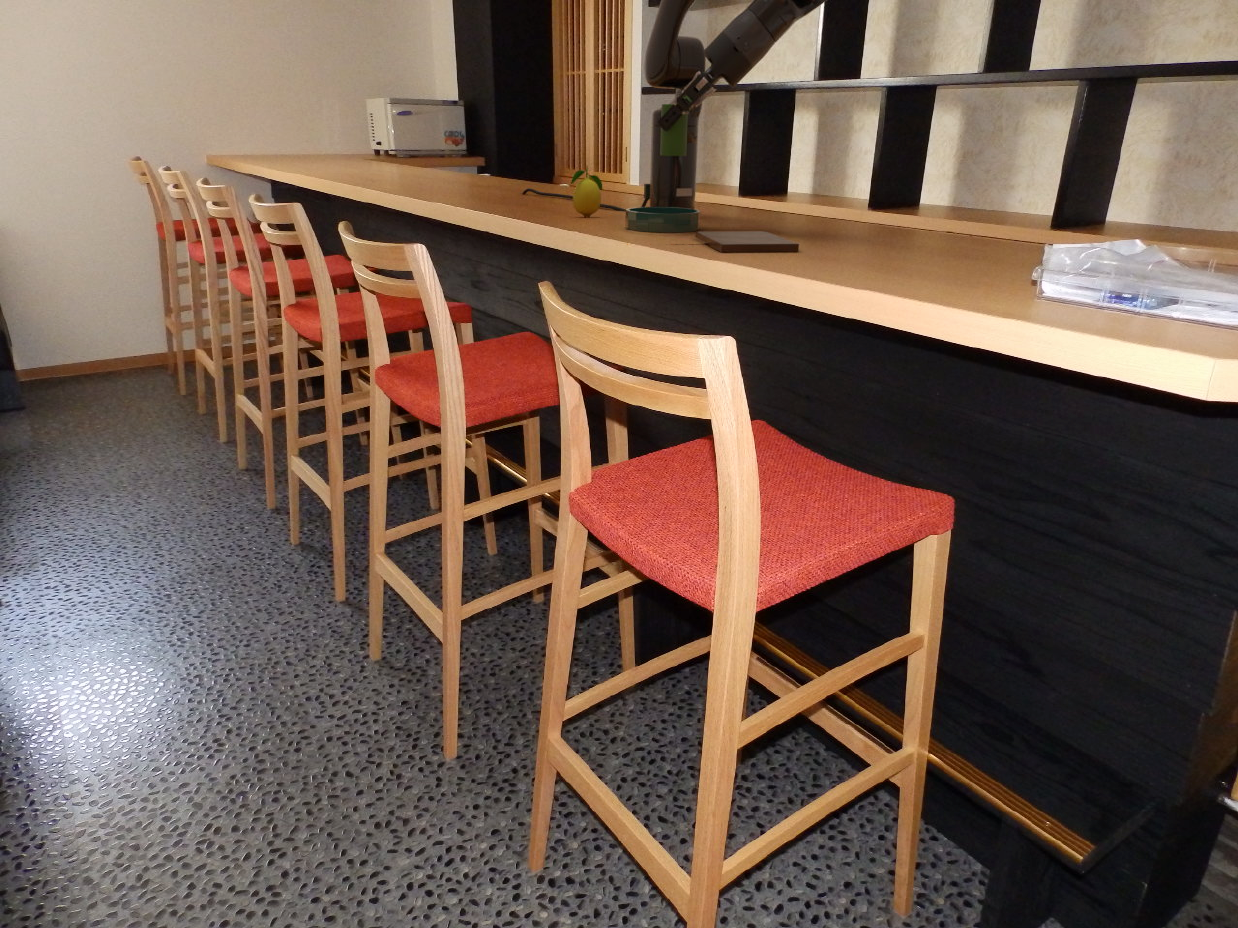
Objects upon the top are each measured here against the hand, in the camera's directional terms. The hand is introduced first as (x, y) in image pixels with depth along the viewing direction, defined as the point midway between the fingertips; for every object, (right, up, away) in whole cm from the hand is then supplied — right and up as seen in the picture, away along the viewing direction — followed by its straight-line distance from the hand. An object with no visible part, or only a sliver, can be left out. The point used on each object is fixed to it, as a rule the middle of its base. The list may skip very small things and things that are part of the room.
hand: (662, 127), depth 142 cm
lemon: (-14, -8, +26) cm, 30 cm away
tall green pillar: (+2, -4, +1) cm, 5 cm away
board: (+12, -22, -9) cm, 27 cm away
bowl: (0, -15, +8) cm, 17 cm away
